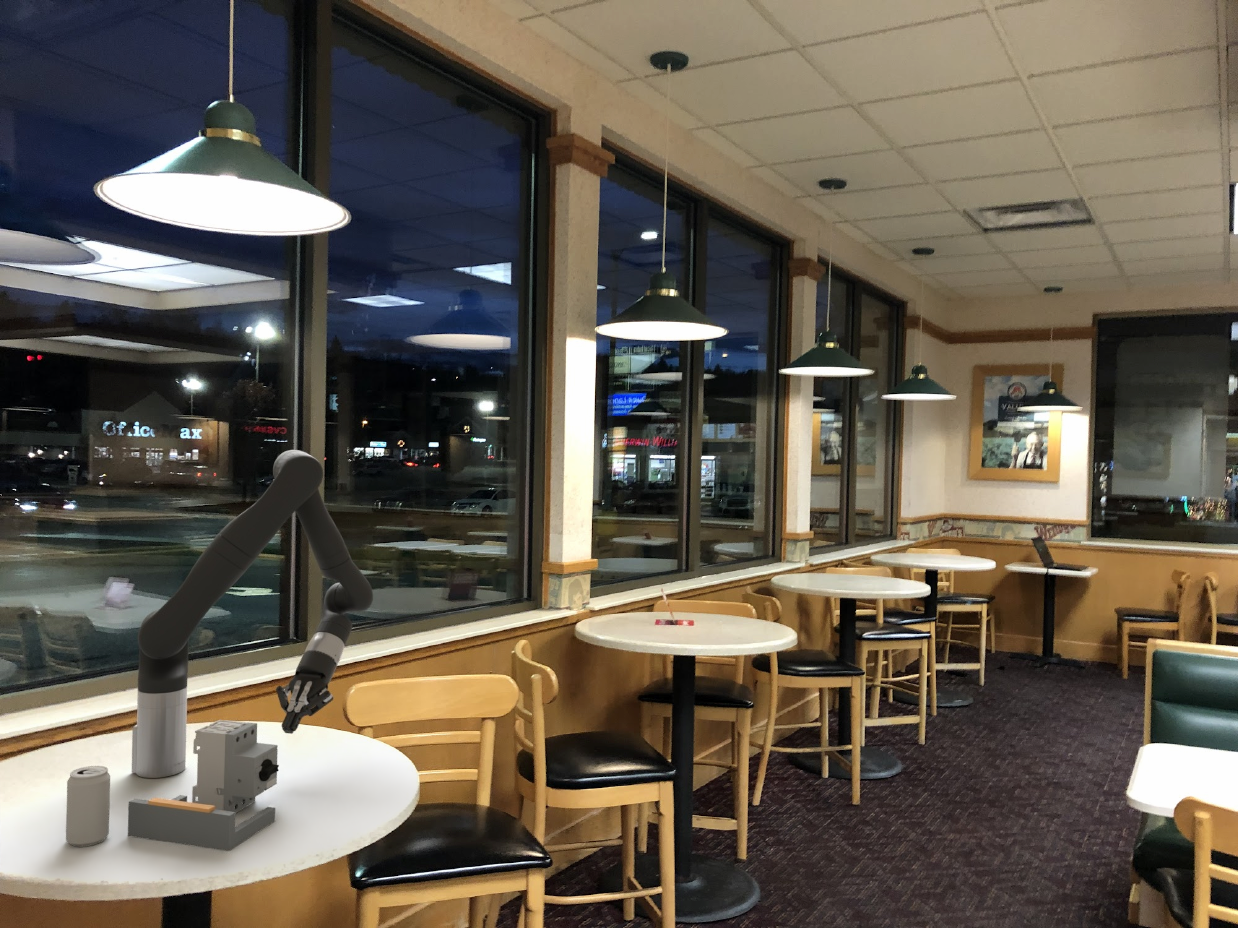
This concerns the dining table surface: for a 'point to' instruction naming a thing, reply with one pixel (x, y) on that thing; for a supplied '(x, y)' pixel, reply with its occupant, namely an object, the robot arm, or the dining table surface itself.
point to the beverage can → (88, 806)
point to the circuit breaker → (232, 765)
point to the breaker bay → (192, 823)
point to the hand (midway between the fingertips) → (287, 731)
